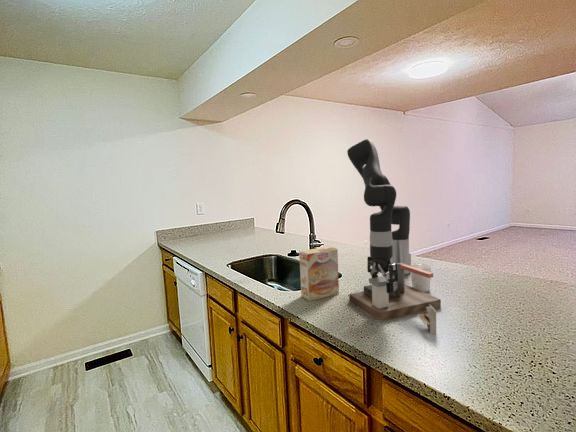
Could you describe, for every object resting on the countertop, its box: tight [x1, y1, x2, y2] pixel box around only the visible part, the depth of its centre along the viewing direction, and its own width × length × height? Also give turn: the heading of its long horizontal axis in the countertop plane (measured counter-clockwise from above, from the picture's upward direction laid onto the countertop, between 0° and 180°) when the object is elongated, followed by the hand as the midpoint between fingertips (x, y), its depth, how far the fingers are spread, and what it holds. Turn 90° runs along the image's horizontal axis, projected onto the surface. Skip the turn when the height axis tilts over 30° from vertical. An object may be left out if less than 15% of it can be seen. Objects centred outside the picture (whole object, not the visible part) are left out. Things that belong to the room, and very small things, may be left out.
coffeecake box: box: [298, 245, 340, 302], centre depth 137 cm, size 15×7×20 cm, turn 117°
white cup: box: [410, 263, 432, 293], centre depth 137 cm, size 8×8×10 cm
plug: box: [368, 275, 389, 308], centre depth 115 cm, size 5×5×10 cm
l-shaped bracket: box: [396, 263, 434, 292], centre depth 121 cm, size 17×3×11 cm, turn 21°
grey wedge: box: [417, 304, 437, 335], centre depth 103 cm, size 3×7×7 cm, turn 176°
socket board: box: [348, 283, 442, 322], centre depth 124 cm, size 26×20×6 cm
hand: (382, 289), depth 114 cm, fingers open, 8 cm apart
